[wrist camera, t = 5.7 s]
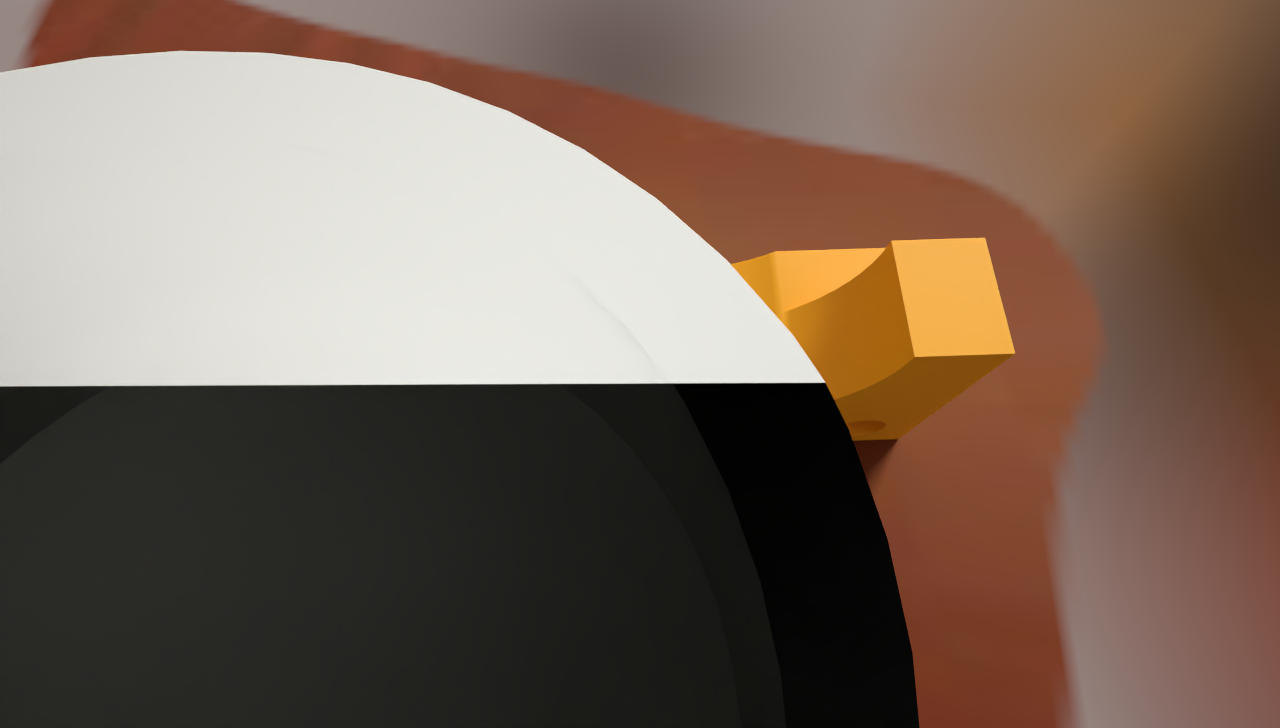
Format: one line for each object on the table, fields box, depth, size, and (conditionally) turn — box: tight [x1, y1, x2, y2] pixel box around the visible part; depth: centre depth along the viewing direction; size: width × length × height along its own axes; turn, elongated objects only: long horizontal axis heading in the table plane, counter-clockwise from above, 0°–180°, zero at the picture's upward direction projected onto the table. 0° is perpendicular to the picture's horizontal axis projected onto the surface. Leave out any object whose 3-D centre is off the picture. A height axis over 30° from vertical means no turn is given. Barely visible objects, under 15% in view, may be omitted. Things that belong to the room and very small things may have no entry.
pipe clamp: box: [731, 238, 1015, 441], centre depth 17 cm, size 12×4×6 cm, turn 92°
